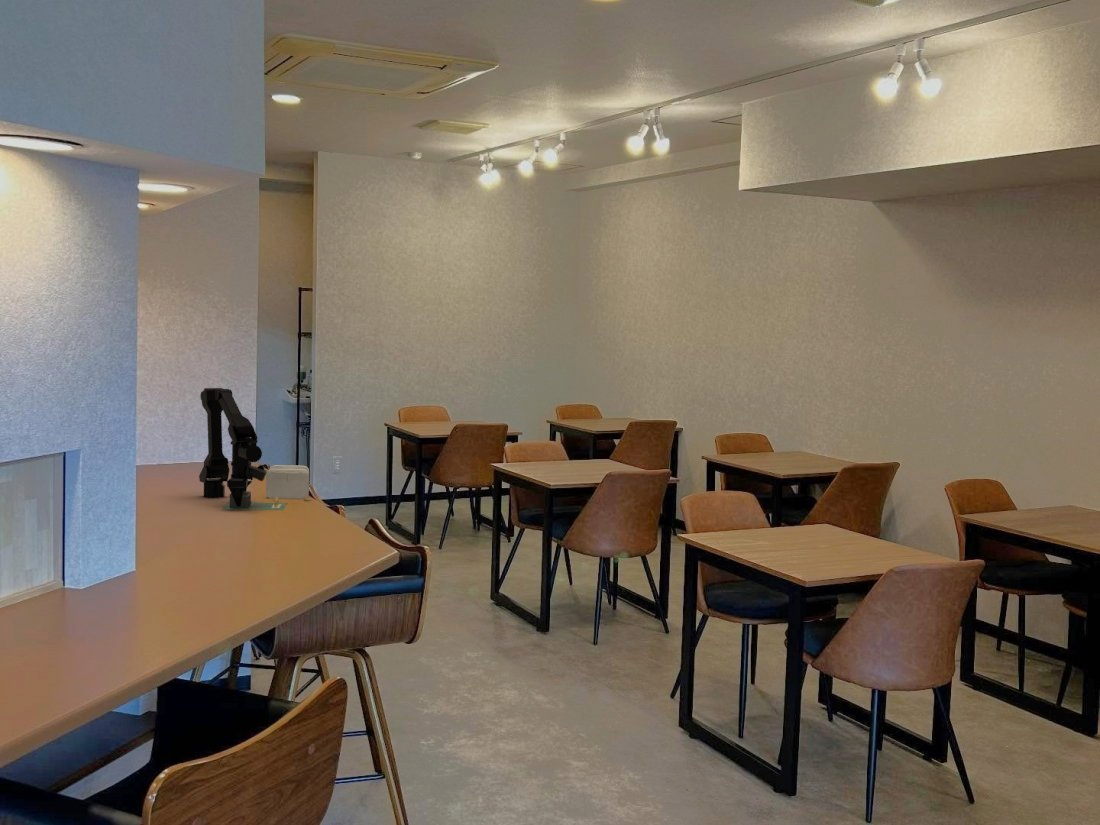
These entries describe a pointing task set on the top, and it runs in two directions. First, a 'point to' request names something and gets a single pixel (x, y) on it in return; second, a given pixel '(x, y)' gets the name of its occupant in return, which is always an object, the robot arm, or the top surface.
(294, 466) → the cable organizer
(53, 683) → the top surface
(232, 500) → the plug
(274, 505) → the header board
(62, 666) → the top surface
